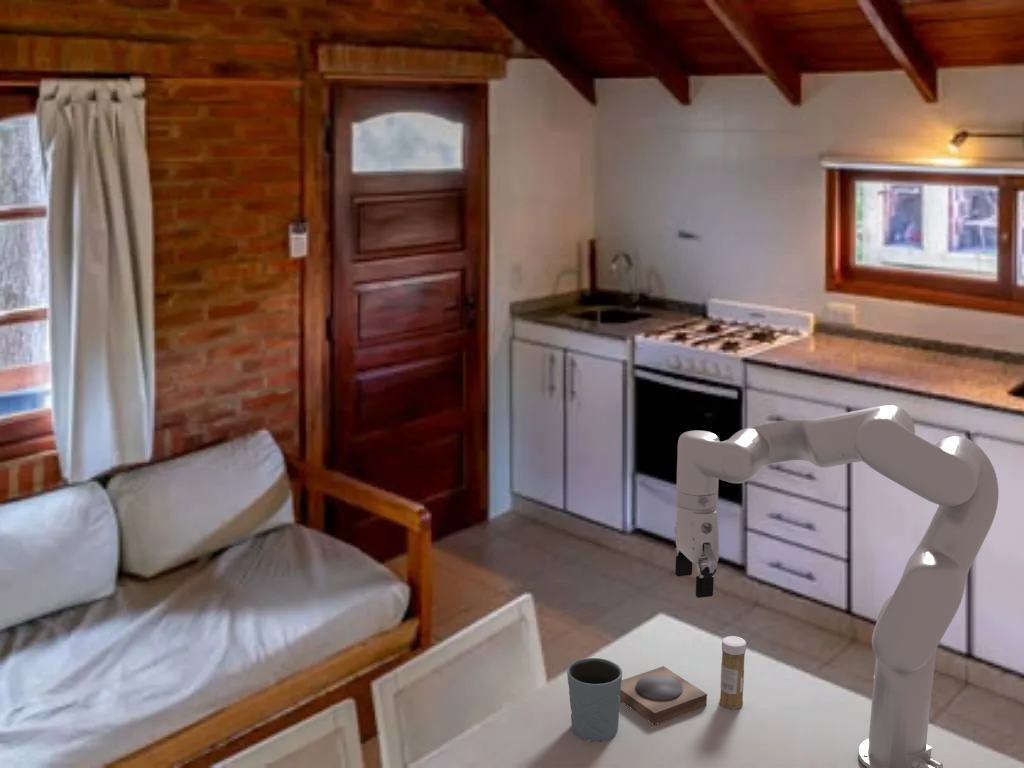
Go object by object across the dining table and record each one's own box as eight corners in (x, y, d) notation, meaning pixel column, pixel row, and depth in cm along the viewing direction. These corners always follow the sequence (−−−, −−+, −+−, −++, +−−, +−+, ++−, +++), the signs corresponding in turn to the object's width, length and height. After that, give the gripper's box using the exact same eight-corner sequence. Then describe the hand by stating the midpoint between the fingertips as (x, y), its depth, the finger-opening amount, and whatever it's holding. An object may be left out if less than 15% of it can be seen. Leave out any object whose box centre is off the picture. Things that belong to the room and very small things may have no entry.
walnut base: (706, 705, 210) (707, 691, 210) (654, 725, 204) (654, 710, 203) (663, 677, 221) (663, 663, 220) (612, 694, 214) (612, 681, 214)
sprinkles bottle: (747, 705, 210) (751, 642, 207) (730, 712, 208) (734, 648, 205) (730, 695, 214) (734, 633, 211) (714, 702, 212) (717, 639, 208)
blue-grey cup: (617, 746, 197) (619, 687, 194) (562, 740, 199) (563, 681, 196) (623, 717, 206) (624, 660, 203) (570, 711, 208) (571, 654, 205)
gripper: (736, 513, 191) (732, 603, 195) (697, 482, 207) (694, 565, 211) (696, 516, 189) (693, 607, 193) (660, 485, 205) (657, 569, 209)
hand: (693, 585), depth 202 cm, fingers open, 9 cm apart
